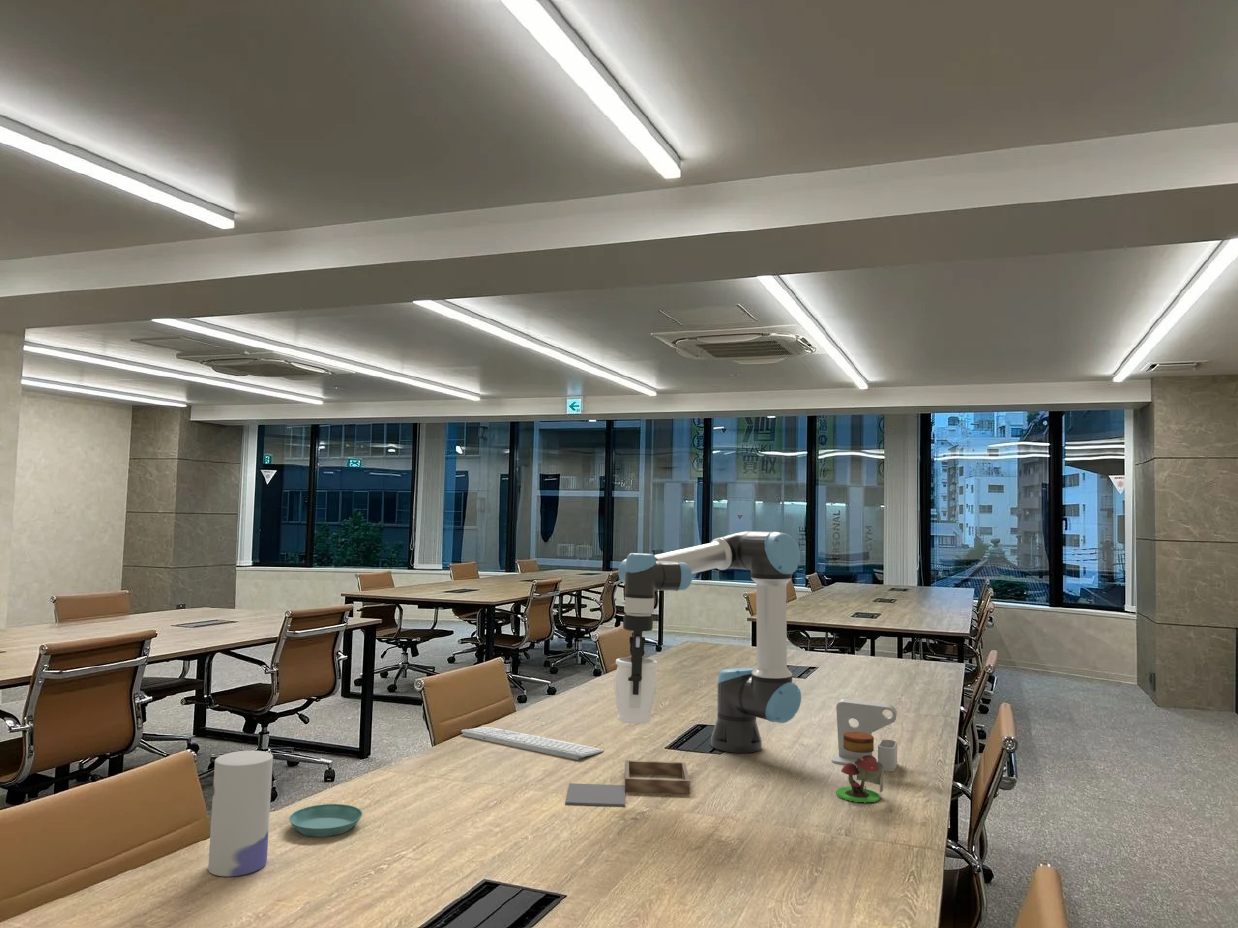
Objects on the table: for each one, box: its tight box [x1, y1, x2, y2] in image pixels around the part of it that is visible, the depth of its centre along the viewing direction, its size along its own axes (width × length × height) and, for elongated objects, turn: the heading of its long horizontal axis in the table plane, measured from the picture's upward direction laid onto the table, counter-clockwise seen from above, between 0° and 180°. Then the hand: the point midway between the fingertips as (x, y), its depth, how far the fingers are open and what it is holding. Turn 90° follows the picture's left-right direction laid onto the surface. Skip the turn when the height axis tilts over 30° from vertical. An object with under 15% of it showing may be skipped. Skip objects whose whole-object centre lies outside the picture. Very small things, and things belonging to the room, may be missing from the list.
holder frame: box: [624, 759, 691, 794], centre depth 215 cm, size 16×16×3 cm
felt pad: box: [564, 783, 626, 807], centre depth 203 cm, size 14×14×1 cm
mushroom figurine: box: [835, 732, 885, 804], centre depth 209 cm, size 12×13×15 cm
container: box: [207, 750, 274, 877], centre depth 157 cm, size 10×10×20 cm
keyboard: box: [461, 726, 605, 761], centre depth 248 cm, size 44×12×2 cm, turn 59°
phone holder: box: [831, 698, 898, 772], centre depth 239 cm, size 17×10×18 cm, turn 65°
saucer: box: [288, 803, 363, 838], centre depth 178 cm, size 15×15×3 cm
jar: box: [613, 656, 658, 725], centre depth 212 cm, size 11×10×15 cm
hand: (634, 702), depth 211 cm, fingers closed on jar, 10 cm apart
